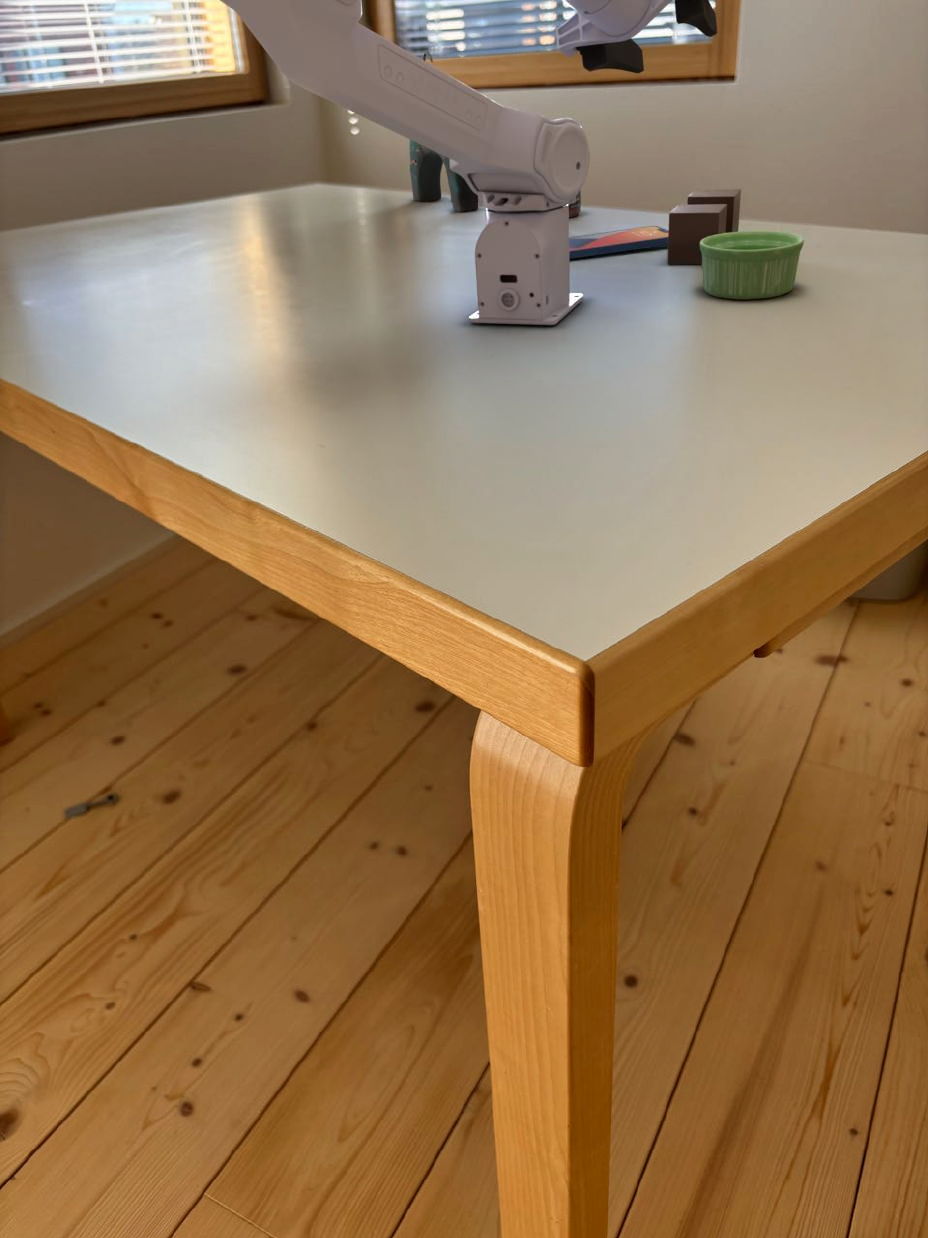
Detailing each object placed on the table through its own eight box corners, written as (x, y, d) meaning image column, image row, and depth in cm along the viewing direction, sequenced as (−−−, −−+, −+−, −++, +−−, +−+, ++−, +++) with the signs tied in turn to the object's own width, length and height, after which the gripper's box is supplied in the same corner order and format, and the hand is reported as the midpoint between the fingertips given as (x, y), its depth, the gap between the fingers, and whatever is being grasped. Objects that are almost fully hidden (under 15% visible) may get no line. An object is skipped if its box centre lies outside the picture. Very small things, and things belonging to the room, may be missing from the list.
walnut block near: (716, 264, 101) (719, 212, 98) (667, 264, 103) (668, 212, 100) (724, 254, 105) (727, 203, 102) (676, 254, 107) (678, 204, 104)
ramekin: (805, 279, 93) (810, 230, 91) (791, 303, 86) (796, 250, 84) (708, 277, 96) (711, 229, 94) (687, 300, 89) (690, 249, 87)
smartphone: (531, 252, 113) (530, 242, 113) (654, 234, 116) (654, 224, 115) (551, 264, 107) (550, 253, 107) (681, 245, 110) (681, 235, 109)
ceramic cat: (402, 199, 156) (389, 52, 146) (440, 194, 158) (430, 49, 148) (452, 214, 140) (441, 51, 130) (493, 208, 142) (486, 47, 132)
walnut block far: (731, 245, 109) (734, 195, 106) (685, 245, 111) (687, 196, 108) (737, 236, 113) (741, 188, 110) (693, 236, 115) (695, 189, 112)
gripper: (668, -119, 79) (743, -38, 89) (523, -26, 88) (606, 37, 99) (676, -32, 79) (750, 39, 89) (530, 51, 88) (612, 107, 98)
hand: (675, 43), depth 94 cm, fingers open, 7 cm apart
